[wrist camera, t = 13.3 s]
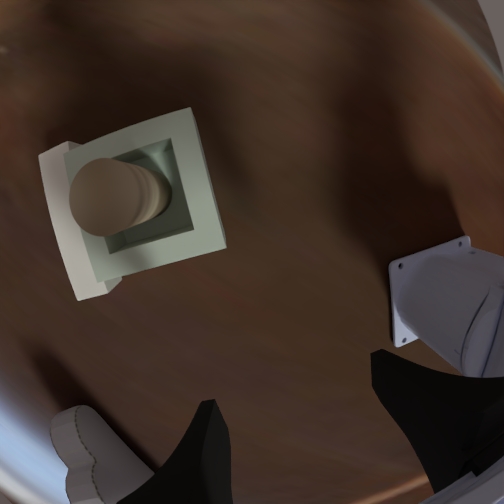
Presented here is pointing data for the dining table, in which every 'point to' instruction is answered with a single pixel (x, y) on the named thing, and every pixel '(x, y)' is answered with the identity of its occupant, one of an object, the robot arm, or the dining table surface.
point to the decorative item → (95, 458)
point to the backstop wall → (69, 225)
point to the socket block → (182, 204)
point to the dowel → (117, 196)
